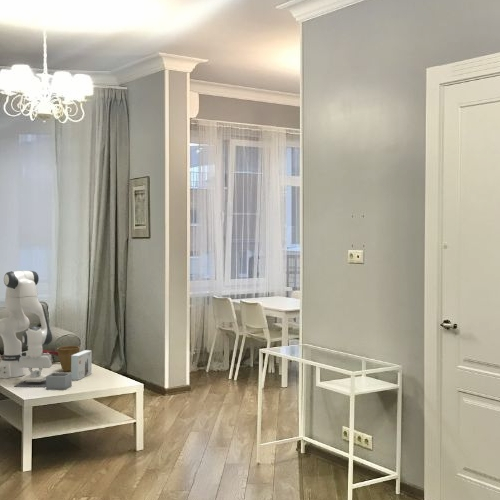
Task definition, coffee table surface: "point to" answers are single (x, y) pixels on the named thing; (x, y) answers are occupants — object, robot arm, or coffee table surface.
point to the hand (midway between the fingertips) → (35, 374)
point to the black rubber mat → (31, 384)
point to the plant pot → (67, 356)
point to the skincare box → (81, 364)
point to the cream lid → (34, 377)
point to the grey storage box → (58, 381)
